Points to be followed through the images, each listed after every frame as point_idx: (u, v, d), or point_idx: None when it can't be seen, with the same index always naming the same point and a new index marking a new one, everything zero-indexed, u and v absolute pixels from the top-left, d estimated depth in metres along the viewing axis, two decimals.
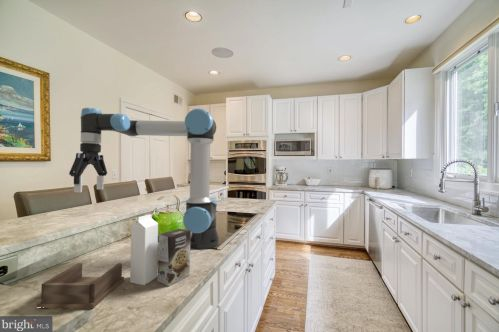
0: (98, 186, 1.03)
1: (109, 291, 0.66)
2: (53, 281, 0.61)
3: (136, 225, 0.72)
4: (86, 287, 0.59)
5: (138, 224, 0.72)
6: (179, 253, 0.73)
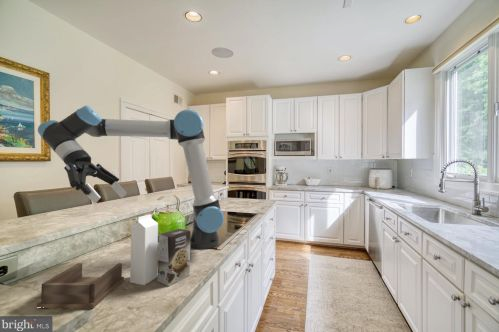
0: (120, 194, 0.84)
1: (109, 291, 0.66)
2: (53, 281, 0.61)
3: (136, 225, 0.72)
4: (86, 287, 0.59)
5: (138, 224, 0.72)
6: (179, 253, 0.73)
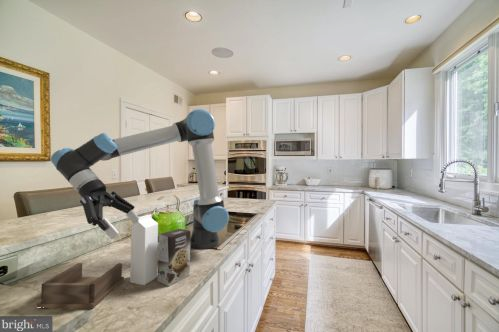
0: None
1: (109, 291, 0.66)
2: (53, 281, 0.61)
3: (136, 225, 0.72)
4: (86, 287, 0.59)
5: (138, 224, 0.72)
6: (179, 253, 0.73)
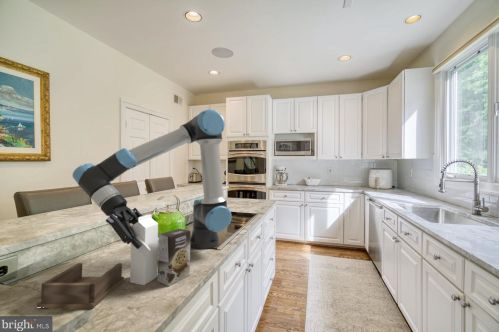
0: None
1: (109, 291, 0.66)
2: (53, 281, 0.61)
3: (136, 225, 0.72)
4: (86, 287, 0.59)
5: (138, 224, 0.72)
6: (179, 253, 0.73)
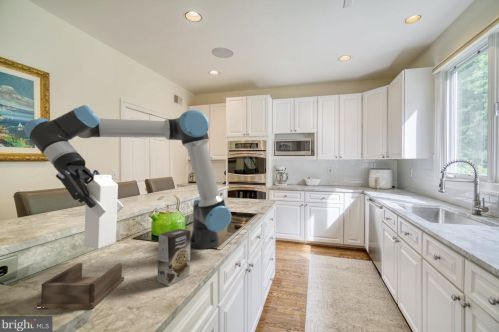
0: None
1: (109, 291, 0.66)
2: (53, 281, 0.61)
3: (91, 183, 0.66)
4: (86, 287, 0.59)
5: (94, 182, 0.66)
6: (179, 253, 0.73)
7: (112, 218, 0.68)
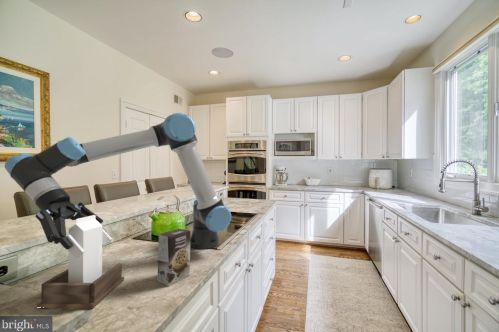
0: (104, 240, 0.71)
1: (109, 291, 0.66)
2: (53, 281, 0.61)
3: (74, 228, 0.63)
4: (86, 287, 0.59)
5: (76, 227, 0.63)
6: (179, 253, 0.73)
7: (97, 261, 0.66)
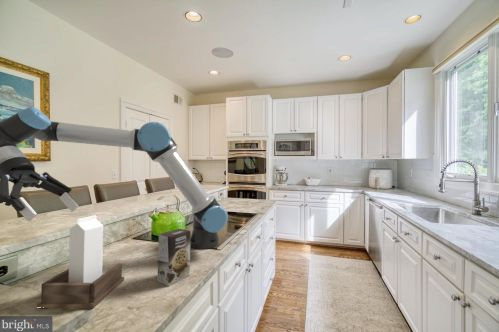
0: (70, 207, 0.73)
1: (109, 291, 0.66)
2: (53, 281, 0.61)
3: (75, 227, 0.64)
4: (86, 287, 0.59)
5: (77, 226, 0.64)
6: (179, 253, 0.73)
7: (97, 261, 0.67)
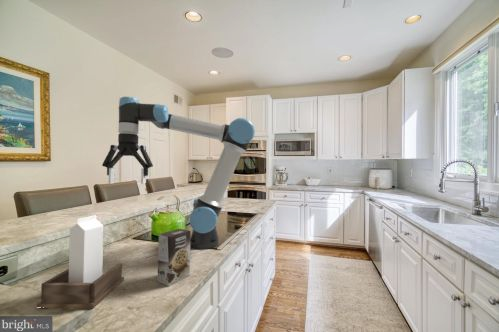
0: None
1: (109, 291, 0.66)
2: (53, 281, 0.61)
3: (75, 227, 0.64)
4: (86, 287, 0.59)
5: (77, 226, 0.64)
6: (179, 253, 0.73)
7: (97, 261, 0.67)
